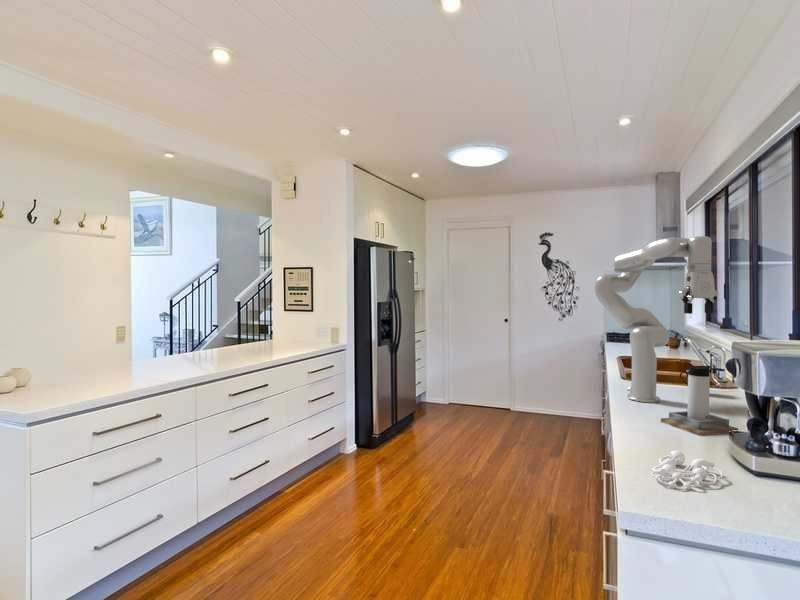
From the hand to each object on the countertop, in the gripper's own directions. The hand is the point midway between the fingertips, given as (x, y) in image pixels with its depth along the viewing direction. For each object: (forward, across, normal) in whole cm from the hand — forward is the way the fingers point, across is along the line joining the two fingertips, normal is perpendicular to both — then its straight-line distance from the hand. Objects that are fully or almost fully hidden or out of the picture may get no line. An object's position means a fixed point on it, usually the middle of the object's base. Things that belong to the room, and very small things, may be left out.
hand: (698, 313), depth 181 cm
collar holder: (+38, -16, -16) cm, 44 cm away
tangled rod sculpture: (+39, -56, -51) cm, 85 cm away
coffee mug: (+38, +28, +28) cm, 55 cm away
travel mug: (+37, -16, -16) cm, 43 cm away
